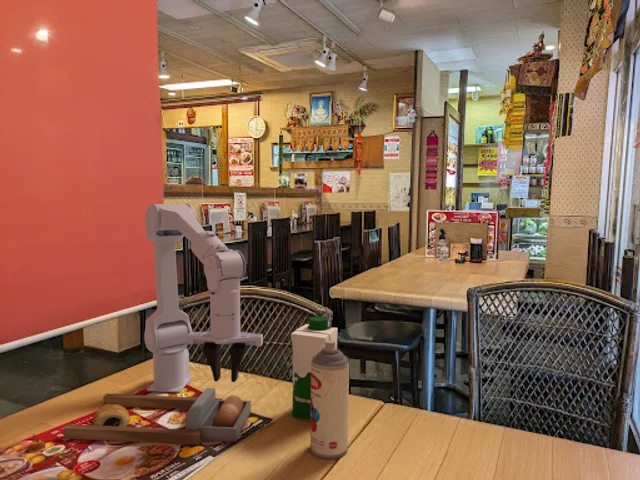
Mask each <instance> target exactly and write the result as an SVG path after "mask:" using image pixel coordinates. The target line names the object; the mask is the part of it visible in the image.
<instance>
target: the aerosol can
mask: <svg viewBox="0 0 640 480" xmlns="http://www.w3.org/2000/svg"><path fill="white" fill-rule="evenodd" d="M349 381H350V363H349V358H348V356H346V355H345V354H344V353H343V352H342V351H341V350H340V349H339V348H338V346H337V347H335V341H332V340H328V341H326V342H325V347H323V348H322V349H321V350H320V351H319V352H318V353H317V354H316V355H314V356H313V357H312V362H311V420H310V441H309V442H310V447H309V448H310V450H309V451H310V452H311V454H312V455H313V456H315V457H316V458H318V459H322V460H337V459H340V458H343V457H344V456H346V454H347V453H348V451H349V448H348V447H349V446H348V445H349V402H350V401H349V393H350V391H349V390H350V389H349V388H350V387H349V384H350V382H349Z"/></svg>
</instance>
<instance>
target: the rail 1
mask: <svg viewBox="0 0 640 480" xmlns="http://www.w3.org/2000/svg"><path fill="white" fill-rule="evenodd" d="M102 398H103V406H104V405H106V404H118V405H121V406H122V407H130V408H131V407H132V408H151V409H152V408H153V409H172V408H176V409H175V410H178V409H179V410H189V409H190V408H191V407H192V405H193V404H194V403H195V401H196V400H197V399H198V398H199V397H195V396H194V397H191V396H169V395H167V396H166V395H147V394H146V395H144V394H142V395H141V394H125V393H124V394H121V393H120V394H119V393H118V394H116V393H106V394H105V395H104V396H103V397H102ZM217 400H223V398H219V397H215V401H217ZM177 408H178V409H177Z"/></svg>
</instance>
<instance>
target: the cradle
mask: <svg viewBox="0 0 640 480" xmlns="http://www.w3.org/2000/svg"><path fill="white" fill-rule="evenodd" d="M225 400H226V399H222V400H217V401H216V402H215V404H214V405H213V407H212V408H211V410H210V411H209V413H208V414H207V415H206V417H205V418H204V420H203V421H202V423H201V424H200V426H199V427H198V430H201V441H207V442H209V441H210V442H211V441H212V442H213V441H214V442H227V443H228V442H230V443H231V442H232V443H236V442H237V441H238V439H239V438H240V435H241V434H242V431H243V430H244V426H245V425H246V423H247V421H248V419H249V416H250V415H251V412H252V409H251V408H252V407H251V406H252V405H251V403H252V402H251V400H242V402H243V409H242V411H241V413H240V414H239V416H238V418H237V420H236V422H235V424H234V426H233V427H215V426H213V419H214V417H215V415H216V414H217V412H218V411H219V409H220V408H221V406H222V404H223V403H224V401H225Z"/></svg>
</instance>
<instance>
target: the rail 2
mask: <svg viewBox="0 0 640 480" xmlns="http://www.w3.org/2000/svg"><path fill="white" fill-rule="evenodd" d="M62 429H63V439H72V440H73V439H75V440H89V441H90V440H91V441H92V440H94V441H112V442H114V441H115V442H134V443H153V444H154V443H157V444H172V445H174V444H175V445H193V446H194V445H195V446H199V445H200V444H201V442H202V440H201V430H186V429H180V428H177V429H176V428H161V427H160V428H156V427H140V426H139V427H133V426H126V427H117V426H96V425H94V424H93V425H92V424H73V423H72V424H71V423H68V424H67V425H65V426H64V427H63V428H62Z"/></svg>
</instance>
